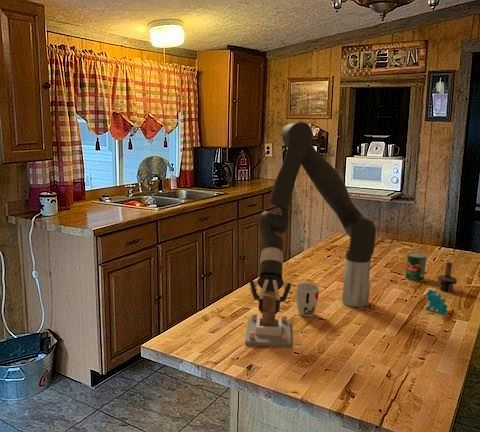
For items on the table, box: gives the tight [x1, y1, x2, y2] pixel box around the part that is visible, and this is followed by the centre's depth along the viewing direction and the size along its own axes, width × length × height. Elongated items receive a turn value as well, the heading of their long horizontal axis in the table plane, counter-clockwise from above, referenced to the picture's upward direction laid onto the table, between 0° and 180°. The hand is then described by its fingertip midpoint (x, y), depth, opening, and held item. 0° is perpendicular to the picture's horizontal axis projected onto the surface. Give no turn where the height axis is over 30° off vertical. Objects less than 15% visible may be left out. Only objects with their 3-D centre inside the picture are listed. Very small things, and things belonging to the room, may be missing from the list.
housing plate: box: [244, 313, 292, 348], centre depth 160 cm, size 14×18×4 cm
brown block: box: [261, 291, 276, 326], centre depth 159 cm, size 4×4×10 cm
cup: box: [295, 282, 320, 317], centre depth 176 cm, size 8×8×10 cm
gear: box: [425, 289, 449, 316], centre depth 183 cm, size 11×6×10 cm
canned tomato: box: [404, 251, 427, 283], centre depth 218 cm, size 8×8×11 cm
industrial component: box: [437, 261, 458, 294], centre depth 205 cm, size 9×7×12 cm
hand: (269, 312), depth 157 cm, fingers closed on brown block, 4 cm apart
